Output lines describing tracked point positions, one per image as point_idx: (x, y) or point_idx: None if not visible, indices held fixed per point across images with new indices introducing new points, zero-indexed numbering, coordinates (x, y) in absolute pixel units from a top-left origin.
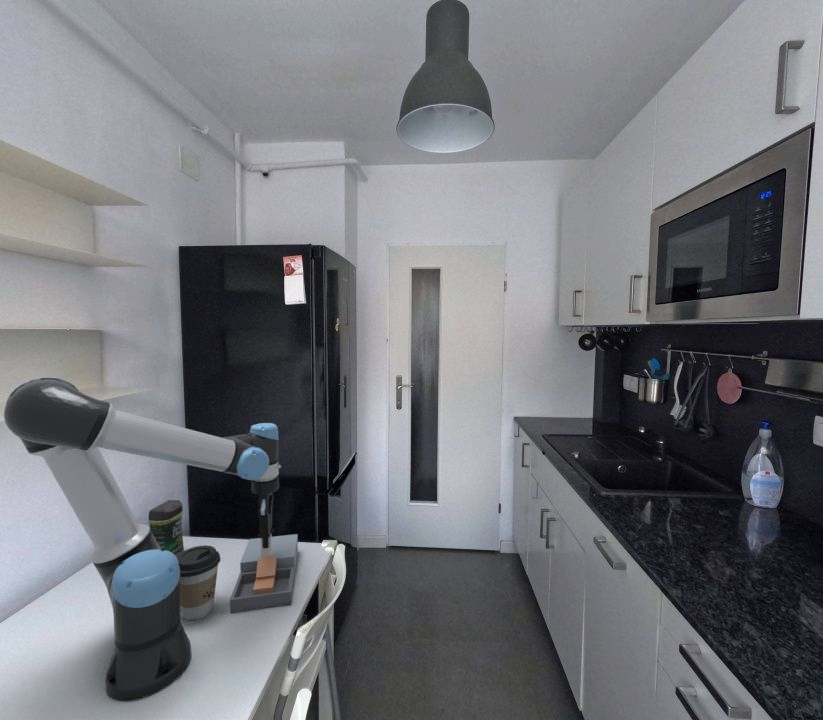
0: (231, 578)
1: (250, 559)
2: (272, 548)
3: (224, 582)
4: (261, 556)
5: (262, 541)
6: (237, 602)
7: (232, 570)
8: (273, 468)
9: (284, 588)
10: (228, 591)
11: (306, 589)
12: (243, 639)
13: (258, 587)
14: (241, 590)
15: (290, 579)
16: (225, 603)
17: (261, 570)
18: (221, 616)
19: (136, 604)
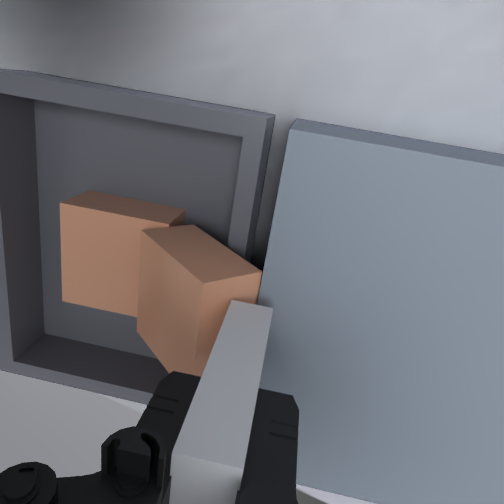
0: (384, 51)
1: (311, 213)
2: (412, 376)
3: (355, 3)
4: (227, 310)
5: (190, 414)
6: None
7: (496, 51)
8: None
9: (133, 332)
10: (235, 43)
11: (128, 401)
12: None
13: (73, 233)
14: (181, 127)
15: (100, 386)
16: (118, 35)
17: (157, 274)
18: (12, 23)
19: None
